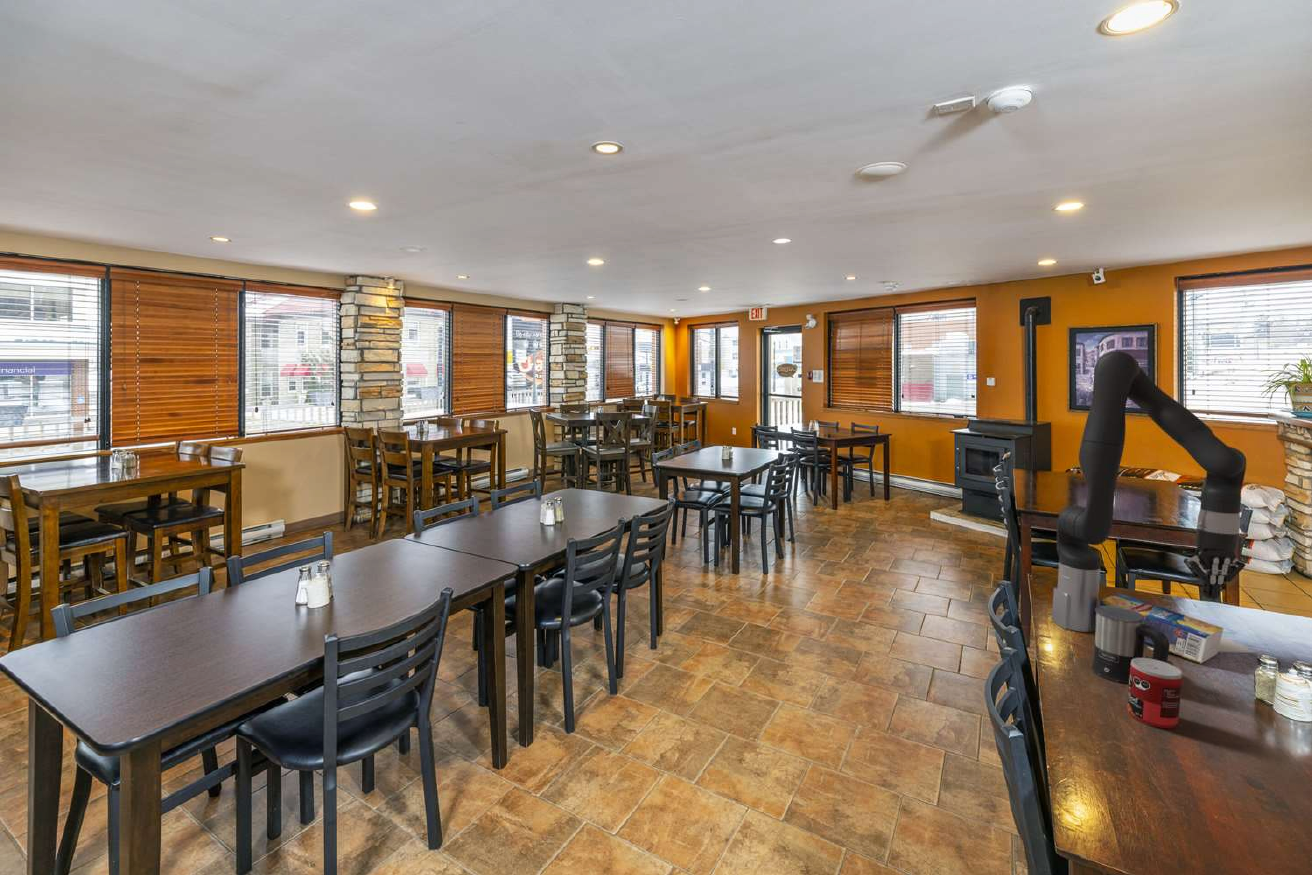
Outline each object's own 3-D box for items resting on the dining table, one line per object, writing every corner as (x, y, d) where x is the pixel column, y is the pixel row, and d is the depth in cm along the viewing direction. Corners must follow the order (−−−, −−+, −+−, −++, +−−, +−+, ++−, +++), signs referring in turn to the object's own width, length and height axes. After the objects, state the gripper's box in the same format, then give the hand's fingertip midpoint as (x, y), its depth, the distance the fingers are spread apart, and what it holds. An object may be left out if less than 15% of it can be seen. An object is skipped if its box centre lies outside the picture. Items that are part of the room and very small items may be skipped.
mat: (1152, 650, 150) (1152, 649, 150) (1099, 618, 170) (1099, 617, 170) (1254, 653, 149) (1254, 651, 149) (1188, 620, 168) (1188, 619, 168)
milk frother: (1086, 674, 138) (1091, 612, 137) (1099, 652, 150) (1103, 594, 148) (1167, 697, 128) (1173, 631, 127) (1173, 671, 140) (1179, 610, 138)
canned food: (1125, 703, 126) (1129, 653, 125) (1174, 715, 121) (1179, 664, 120) (1128, 720, 120) (1132, 668, 118) (1180, 734, 115) (1185, 680, 114)
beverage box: (1223, 628, 147) (1119, 593, 165) (1206, 636, 141) (1100, 599, 160) (1217, 653, 148) (1114, 616, 167) (1200, 663, 142) (1096, 623, 161)
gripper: (1201, 532, 142) (1194, 602, 144) (1261, 533, 141) (1253, 604, 143) (1176, 524, 150) (1170, 591, 151) (1233, 525, 149) (1226, 592, 150)
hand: (1210, 597), depth 147 cm, fingers closed
